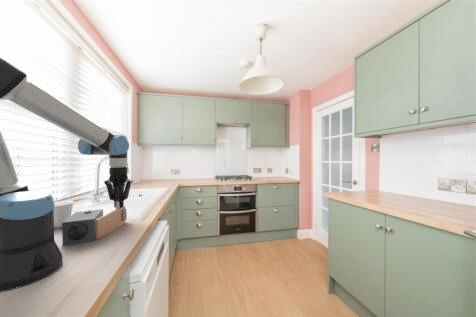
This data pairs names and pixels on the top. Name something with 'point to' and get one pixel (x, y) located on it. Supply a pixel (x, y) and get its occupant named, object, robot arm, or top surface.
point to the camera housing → (80, 227)
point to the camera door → (110, 221)
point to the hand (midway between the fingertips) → (119, 213)
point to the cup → (62, 212)
